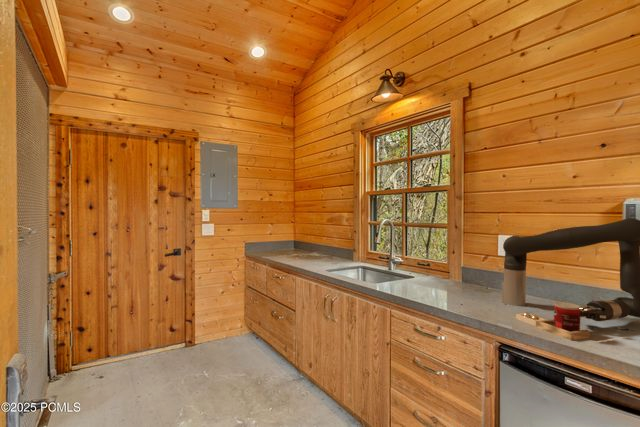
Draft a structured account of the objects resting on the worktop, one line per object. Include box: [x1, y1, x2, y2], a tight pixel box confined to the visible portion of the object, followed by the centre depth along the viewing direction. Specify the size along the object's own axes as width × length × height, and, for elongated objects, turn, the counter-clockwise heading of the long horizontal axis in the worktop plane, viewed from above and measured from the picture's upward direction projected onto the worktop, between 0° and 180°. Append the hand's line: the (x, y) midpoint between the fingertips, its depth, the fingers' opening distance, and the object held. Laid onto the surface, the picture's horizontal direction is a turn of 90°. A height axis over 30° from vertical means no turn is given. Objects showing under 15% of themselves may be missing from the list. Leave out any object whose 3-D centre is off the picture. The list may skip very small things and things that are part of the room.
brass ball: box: [531, 314, 540, 320], centre depth 134 cm, size 3×3×3 cm
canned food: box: [553, 301, 581, 332], centre depth 123 cm, size 8×8×11 cm
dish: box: [515, 313, 547, 327], centre depth 136 cm, size 9×6×2 cm, turn 17°
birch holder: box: [535, 318, 591, 341], centre depth 124 cm, size 13×9×3 cm
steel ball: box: [523, 311, 532, 319], centre depth 138 cm, size 3×3×3 cm
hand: (571, 313), depth 125 cm, fingers closed
